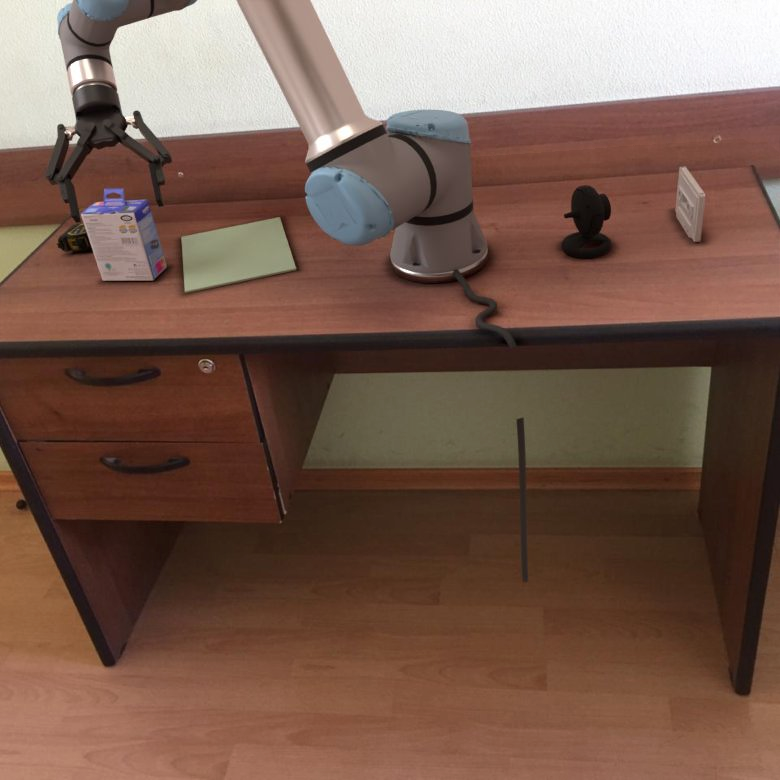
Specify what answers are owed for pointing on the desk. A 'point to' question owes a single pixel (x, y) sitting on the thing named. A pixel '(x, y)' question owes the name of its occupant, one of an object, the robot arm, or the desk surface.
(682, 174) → the cassette
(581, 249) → the webcam
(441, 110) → the robot arm
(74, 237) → the tape measure
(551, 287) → the desk surface
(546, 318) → the desk surface
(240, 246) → the mat
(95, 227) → the ink cartridge box
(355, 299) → the desk surface
